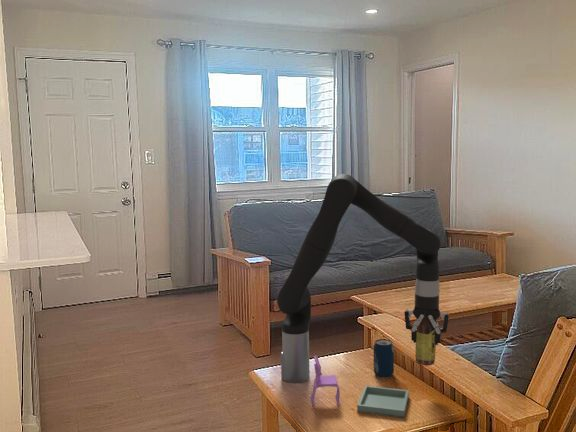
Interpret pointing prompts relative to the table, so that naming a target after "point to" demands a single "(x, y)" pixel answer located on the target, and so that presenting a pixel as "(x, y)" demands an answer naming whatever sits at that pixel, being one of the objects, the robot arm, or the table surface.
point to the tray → (383, 401)
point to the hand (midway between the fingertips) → (425, 342)
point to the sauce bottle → (425, 341)
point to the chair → (323, 381)
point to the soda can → (383, 358)
